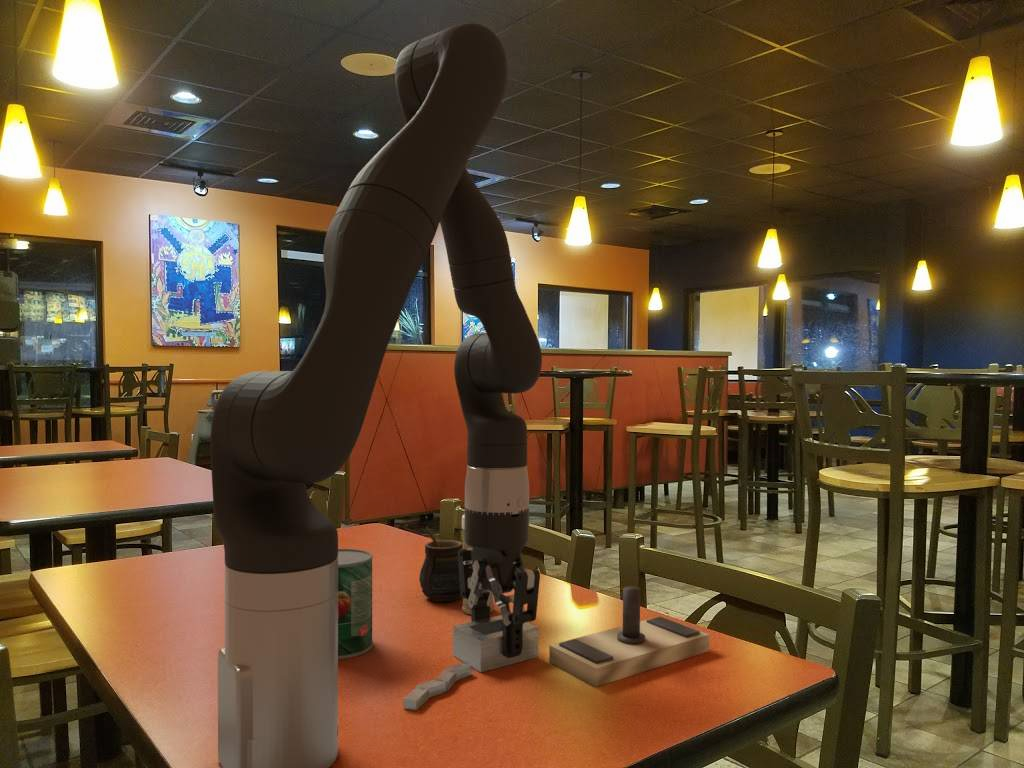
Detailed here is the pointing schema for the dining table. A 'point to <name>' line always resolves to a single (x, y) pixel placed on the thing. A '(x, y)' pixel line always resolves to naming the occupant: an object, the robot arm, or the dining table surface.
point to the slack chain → (436, 685)
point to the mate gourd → (441, 570)
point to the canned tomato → (354, 602)
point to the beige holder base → (628, 646)
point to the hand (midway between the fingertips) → (496, 646)
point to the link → (490, 643)
